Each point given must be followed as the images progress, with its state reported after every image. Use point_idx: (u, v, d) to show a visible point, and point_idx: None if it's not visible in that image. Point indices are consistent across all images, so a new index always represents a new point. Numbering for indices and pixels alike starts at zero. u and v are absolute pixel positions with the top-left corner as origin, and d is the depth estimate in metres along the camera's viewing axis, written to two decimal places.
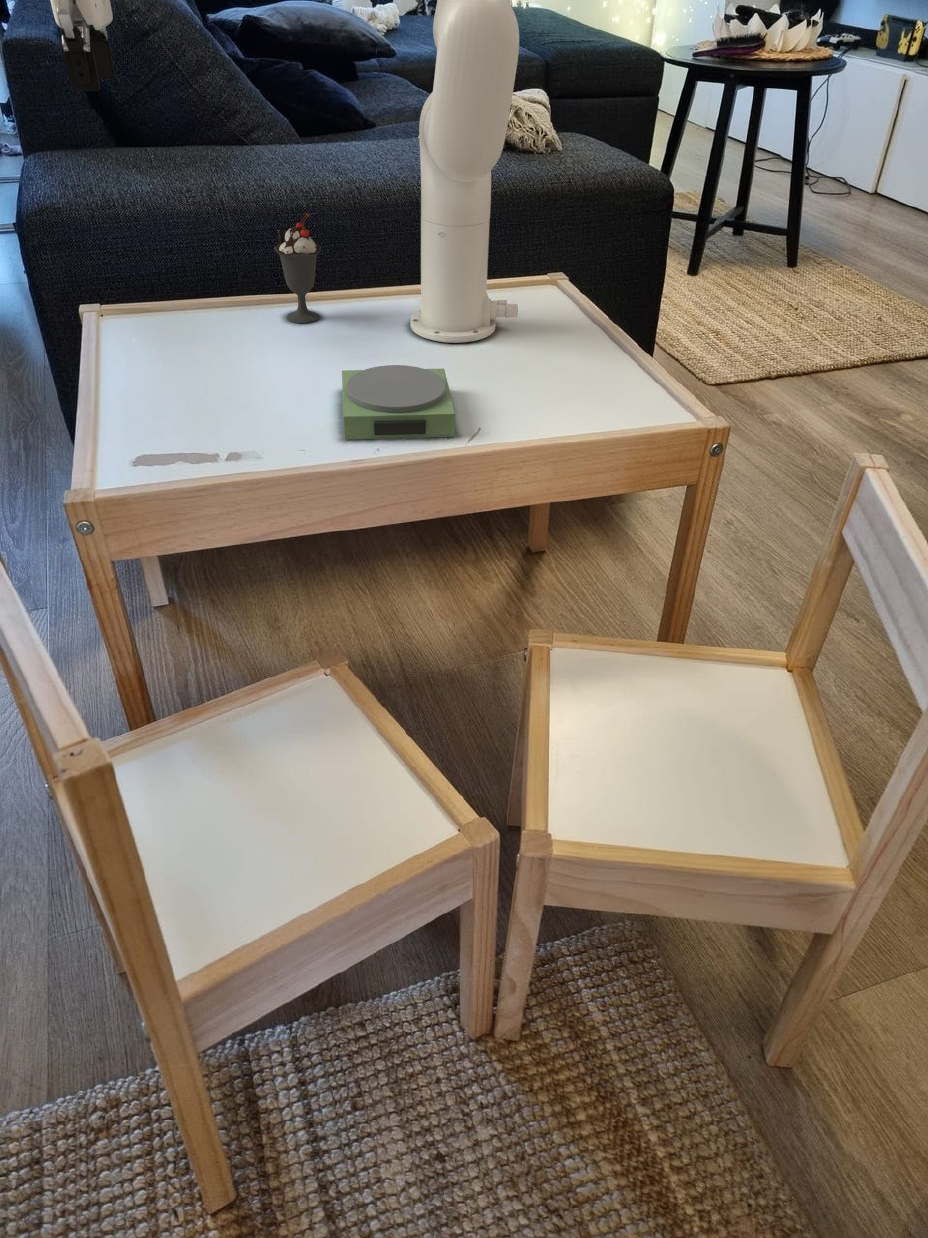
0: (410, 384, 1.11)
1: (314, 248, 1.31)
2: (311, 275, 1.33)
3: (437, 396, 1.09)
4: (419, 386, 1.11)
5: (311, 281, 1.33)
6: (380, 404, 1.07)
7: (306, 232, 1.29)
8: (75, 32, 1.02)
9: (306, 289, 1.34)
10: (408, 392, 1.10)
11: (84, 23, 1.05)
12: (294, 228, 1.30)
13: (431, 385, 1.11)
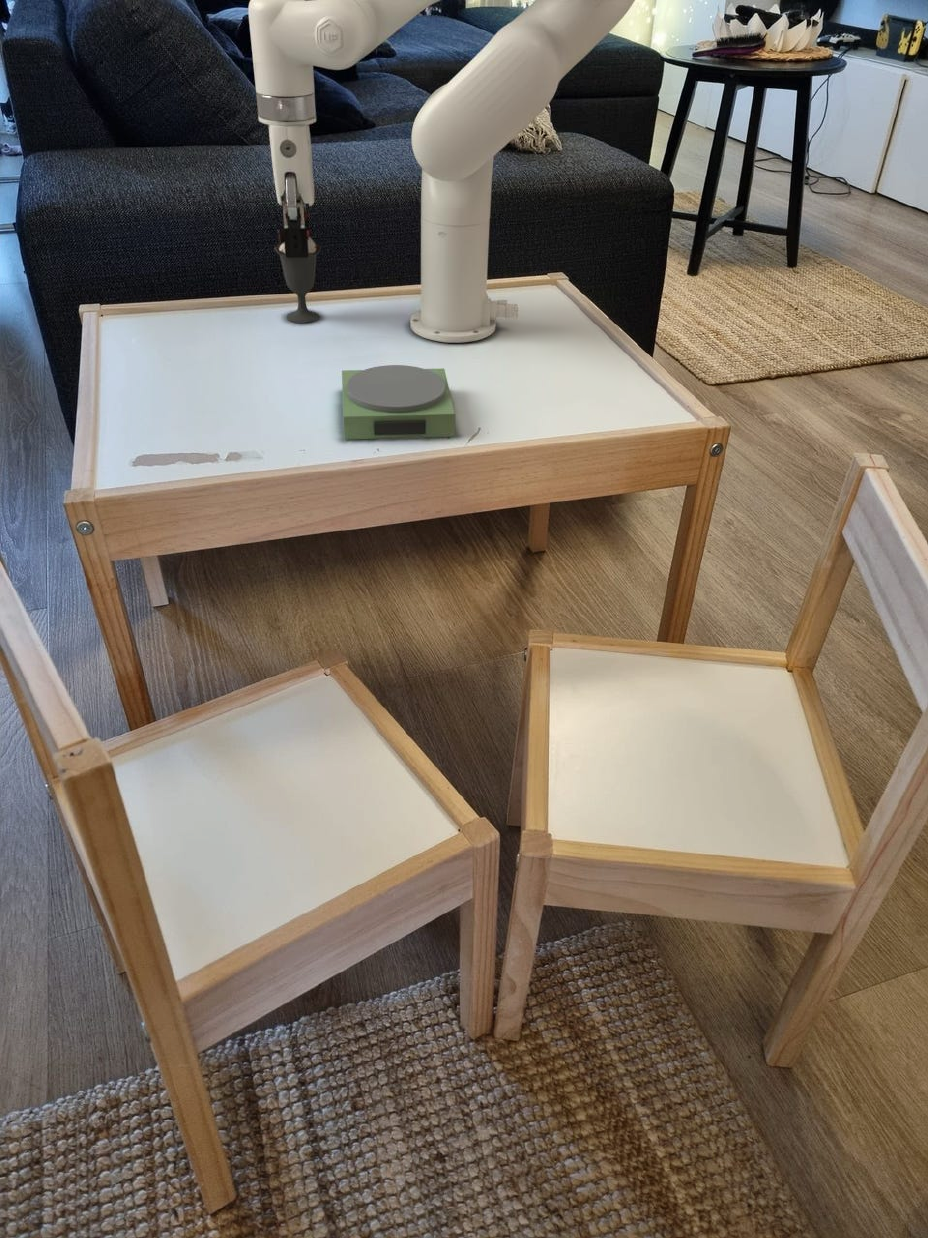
0: (410, 384, 1.11)
1: (314, 248, 1.30)
2: (311, 275, 1.33)
3: (437, 396, 1.09)
4: (419, 386, 1.11)
5: (311, 281, 1.33)
6: (380, 404, 1.07)
7: None
8: (298, 217, 1.23)
9: (306, 289, 1.34)
10: (408, 392, 1.10)
11: (301, 205, 1.24)
12: None
13: (431, 385, 1.11)
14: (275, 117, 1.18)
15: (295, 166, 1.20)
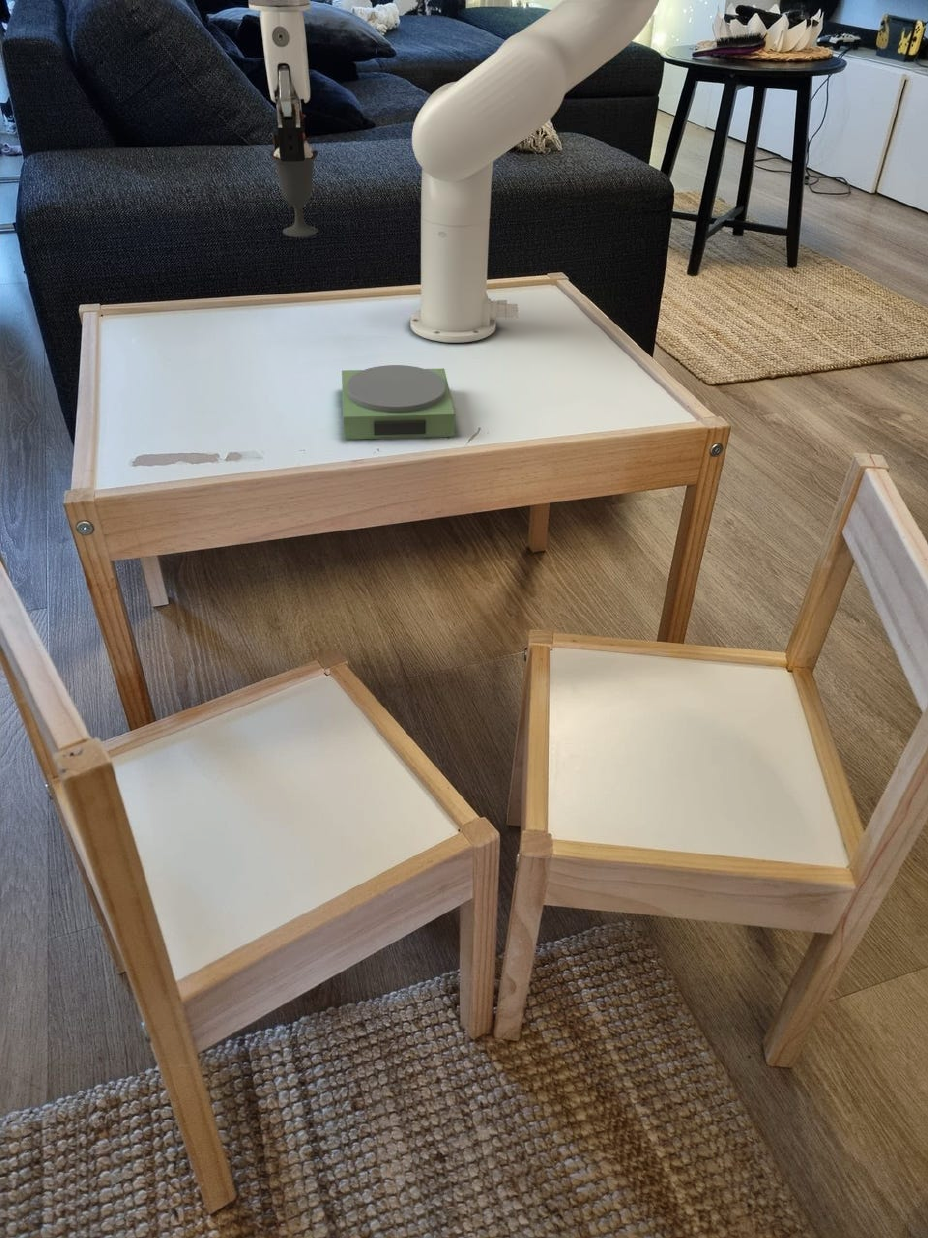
0: (410, 384, 1.11)
1: (311, 153, 1.23)
2: (308, 183, 1.25)
3: (437, 396, 1.09)
4: (419, 386, 1.11)
5: (308, 190, 1.26)
6: (380, 404, 1.07)
7: None
8: (292, 113, 1.15)
9: (303, 199, 1.26)
10: (408, 392, 1.10)
11: (296, 102, 1.17)
12: None
13: (431, 385, 1.11)
14: (266, 2, 1.10)
15: (288, 56, 1.13)
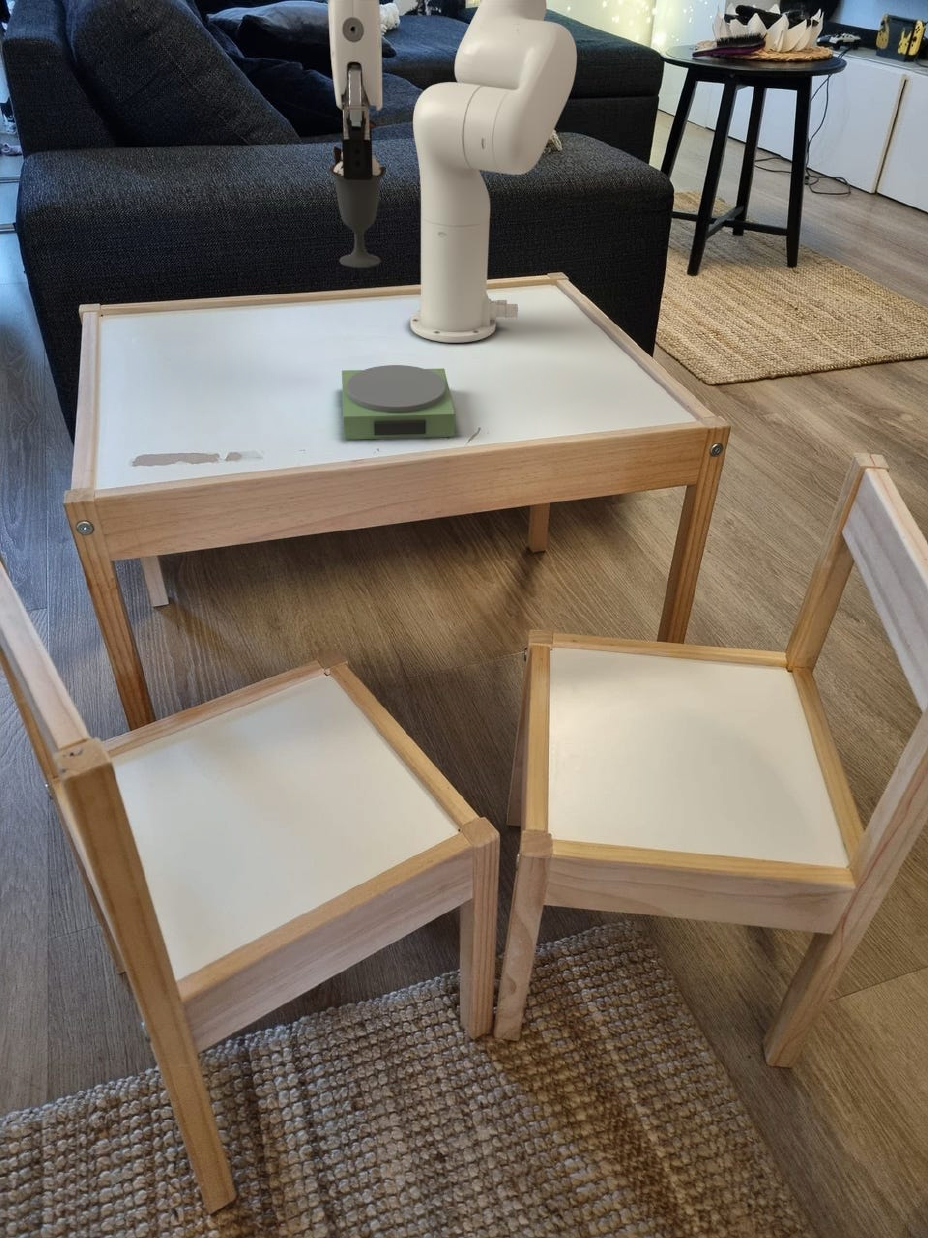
0: (410, 384, 1.11)
1: (378, 170, 1.03)
2: (373, 205, 1.05)
3: (437, 396, 1.09)
4: (419, 386, 1.11)
5: (372, 213, 1.06)
6: (380, 404, 1.07)
7: None
8: (362, 123, 0.95)
9: (366, 224, 1.06)
10: (408, 392, 1.10)
11: (367, 109, 0.97)
12: None
13: (431, 385, 1.11)
14: None
15: (361, 54, 0.93)
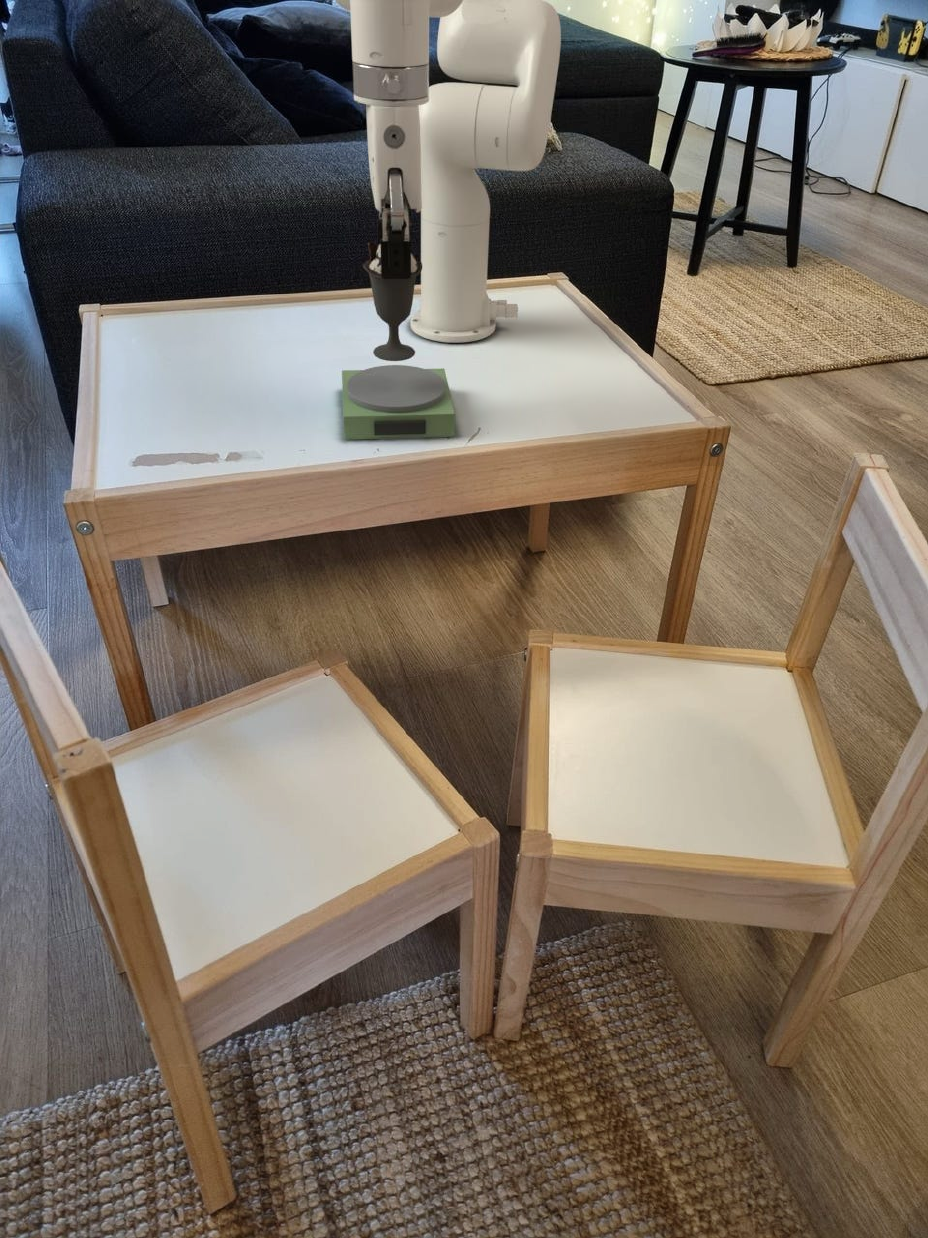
0: (410, 384, 1.11)
1: (415, 266, 1.01)
2: (409, 300, 1.04)
3: (437, 396, 1.09)
4: (419, 386, 1.11)
5: (408, 308, 1.04)
6: (380, 404, 1.07)
7: None
8: (403, 227, 0.94)
9: (402, 318, 1.04)
10: (408, 392, 1.10)
11: (406, 211, 0.95)
12: None
13: (431, 385, 1.11)
14: (379, 95, 0.89)
15: (402, 160, 0.91)
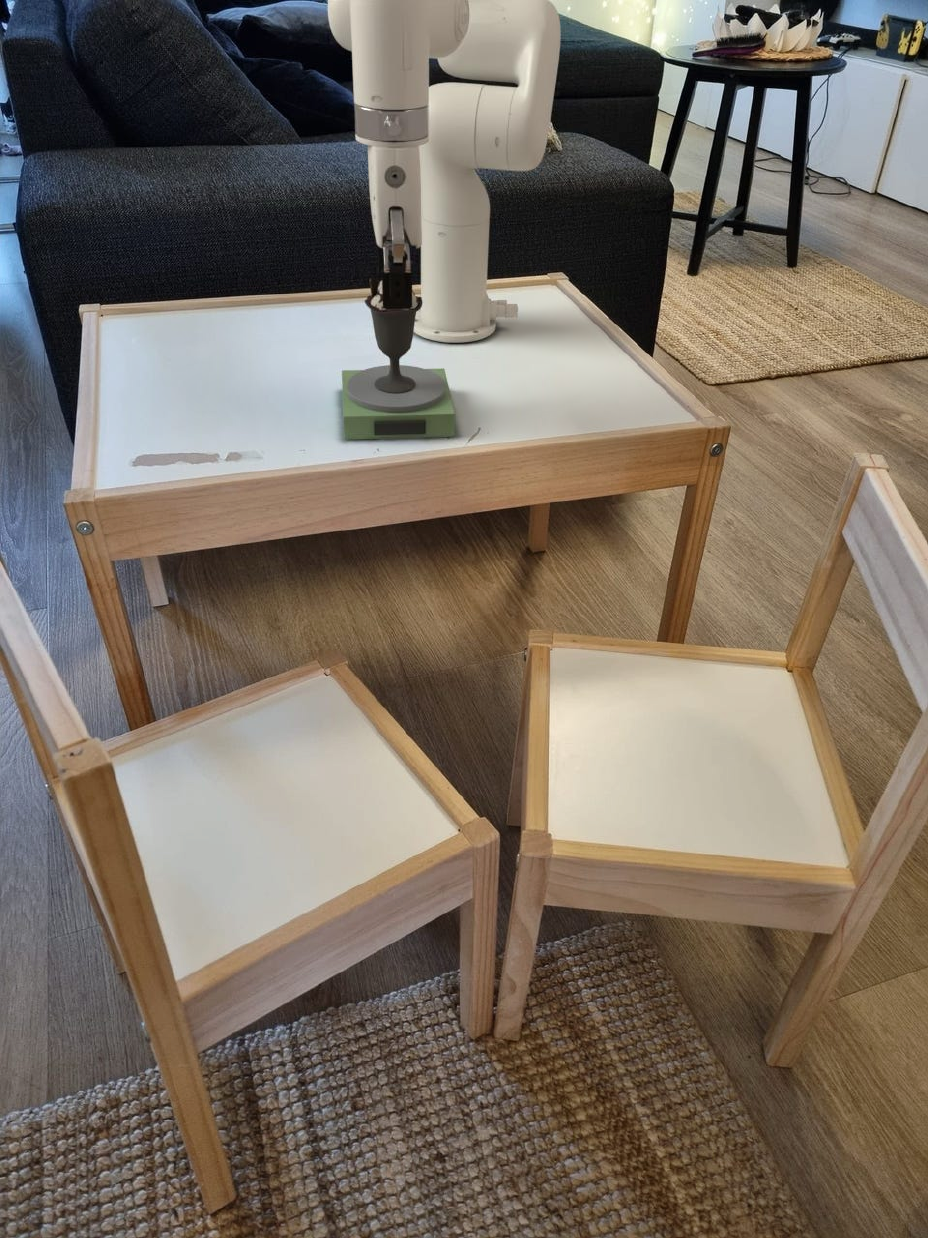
0: None
1: (415, 302, 1.04)
2: (409, 335, 1.06)
3: (437, 396, 1.09)
4: (419, 386, 1.11)
5: (409, 342, 1.07)
6: (380, 404, 1.07)
7: None
8: (404, 258, 0.95)
9: (402, 352, 1.07)
10: (408, 392, 1.10)
11: (407, 243, 0.97)
12: None
13: (431, 385, 1.11)
14: (380, 136, 0.91)
15: (403, 199, 0.94)
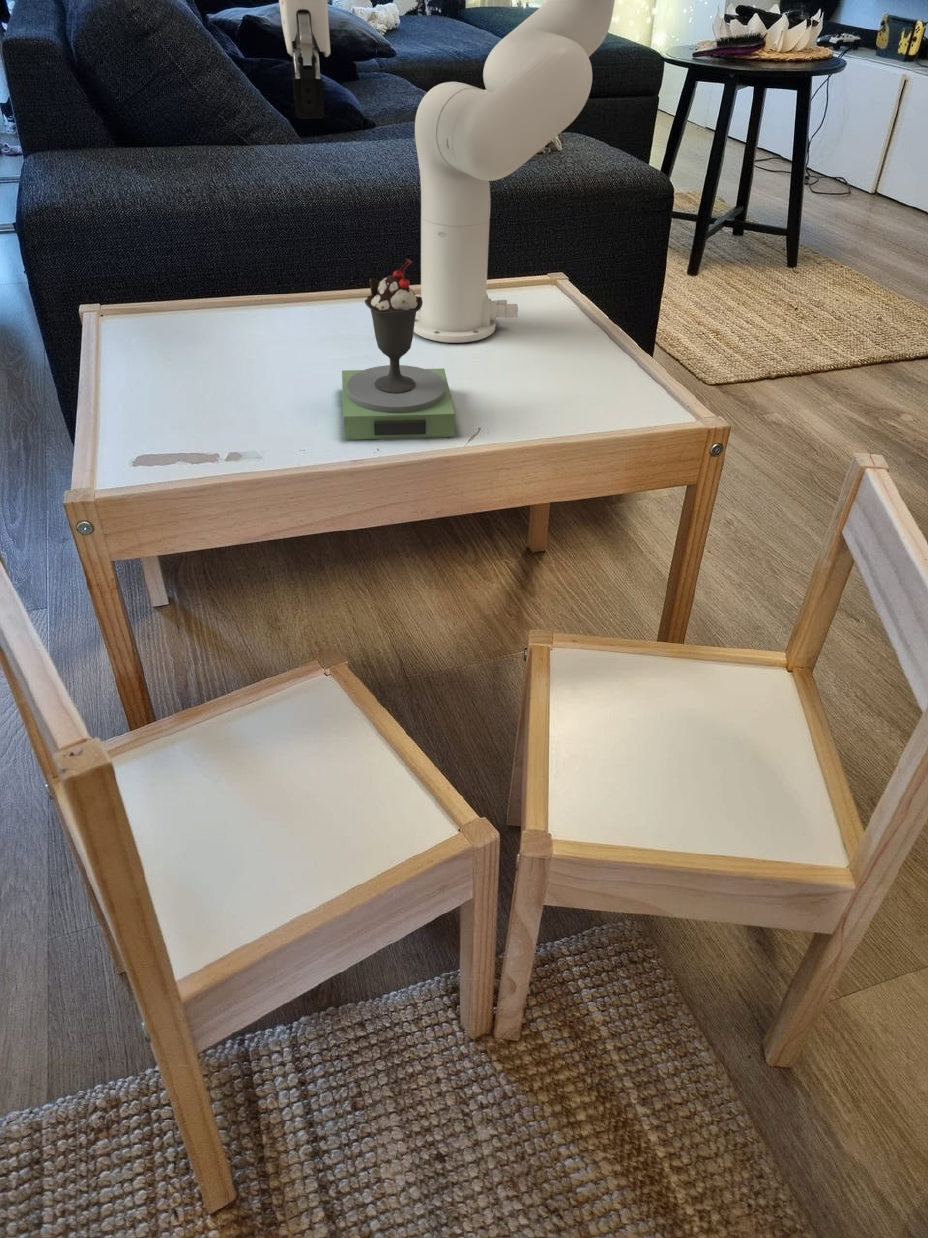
0: None
1: (415, 302, 1.04)
2: (409, 335, 1.06)
3: (437, 396, 1.09)
4: (419, 386, 1.11)
5: (409, 342, 1.07)
6: (380, 404, 1.07)
7: (407, 283, 1.02)
8: (313, 60, 1.00)
9: (402, 352, 1.07)
10: (408, 392, 1.10)
11: (316, 50, 1.02)
12: (391, 278, 1.03)
13: (431, 385, 1.11)
14: None
15: (309, 2, 0.99)
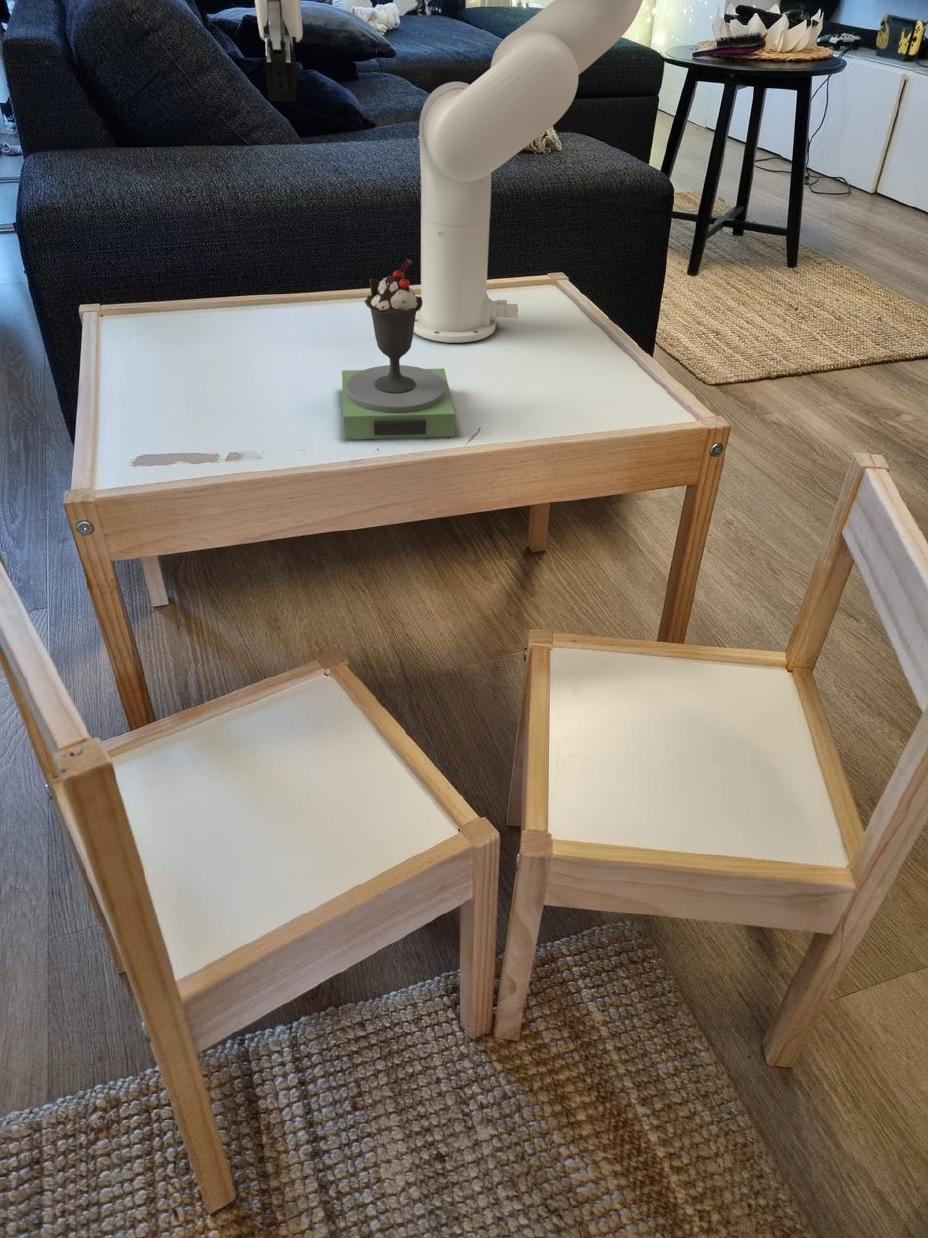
0: None
1: (415, 302, 1.04)
2: (409, 335, 1.06)
3: (437, 396, 1.09)
4: (419, 386, 1.11)
5: (409, 342, 1.07)
6: (380, 404, 1.07)
7: (407, 283, 1.02)
8: (282, 44, 1.05)
9: (402, 352, 1.07)
10: (408, 392, 1.10)
11: (287, 35, 1.08)
12: (391, 278, 1.03)
13: (431, 385, 1.11)
14: None
15: None
